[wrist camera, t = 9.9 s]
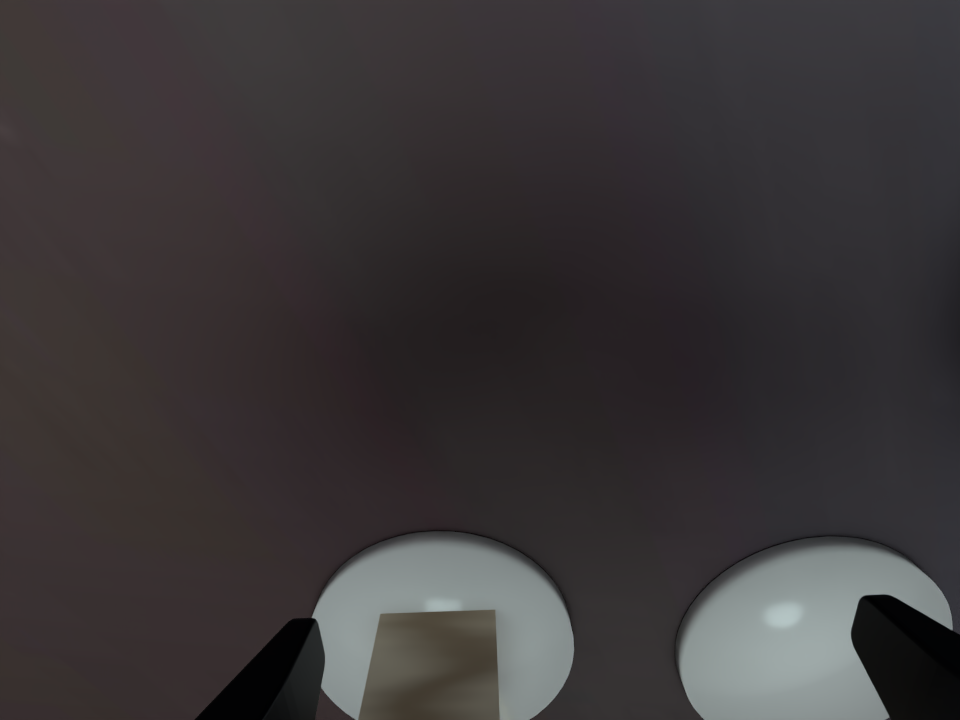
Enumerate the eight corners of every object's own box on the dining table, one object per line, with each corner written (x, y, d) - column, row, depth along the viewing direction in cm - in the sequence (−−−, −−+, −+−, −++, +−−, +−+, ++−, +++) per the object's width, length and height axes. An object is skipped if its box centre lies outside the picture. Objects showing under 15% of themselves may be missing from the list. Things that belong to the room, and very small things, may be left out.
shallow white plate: (967, 531, 23) (988, 547, 22) (898, 722, 27) (913, 742, 26) (688, 541, 23) (697, 557, 22) (664, 729, 27) (670, 749, 26)
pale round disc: (573, 526, 23) (577, 542, 22) (567, 719, 27) (570, 739, 26) (293, 536, 23) (286, 552, 22) (332, 726, 27) (327, 747, 26)
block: (495, 609, 23) (501, 755, 17) (498, 690, 25) (505, 847, 19) (380, 613, 23) (349, 760, 17) (391, 694, 25) (367, 851, 19)
